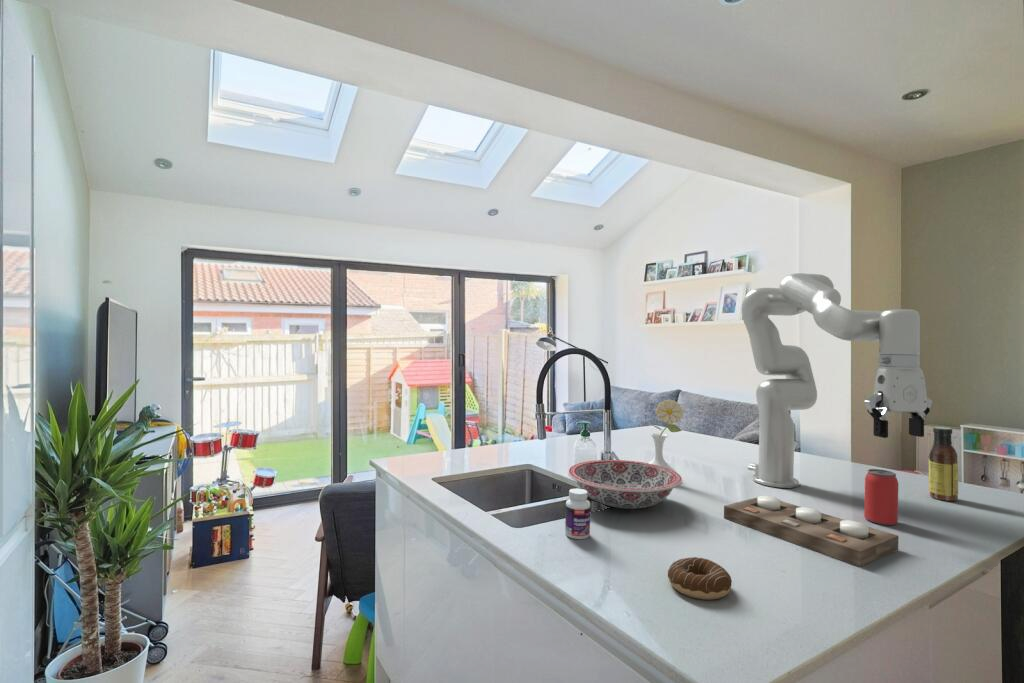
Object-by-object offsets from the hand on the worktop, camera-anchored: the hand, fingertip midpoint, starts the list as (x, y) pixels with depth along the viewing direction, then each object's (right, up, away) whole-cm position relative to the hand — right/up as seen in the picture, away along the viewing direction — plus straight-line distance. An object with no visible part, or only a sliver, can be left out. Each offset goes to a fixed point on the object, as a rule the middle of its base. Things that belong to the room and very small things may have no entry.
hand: (898, 436), depth 118 cm
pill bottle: (-75, -21, -6) cm, 78 cm away
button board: (-24, -21, -3) cm, 32 cm away
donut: (-57, -22, -29) cm, 67 cm away
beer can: (0, -22, +5) cm, 22 cm away
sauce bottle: (+30, -22, +24) cm, 44 cm away
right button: (-17, -19, -10) cm, 28 cm away
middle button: (-22, -19, -2) cm, 29 cm away
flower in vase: (-44, -21, +39) cm, 62 cm away
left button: (-27, -18, +6) cm, 33 cm away
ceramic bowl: (-60, -21, +16) cm, 66 cm away
